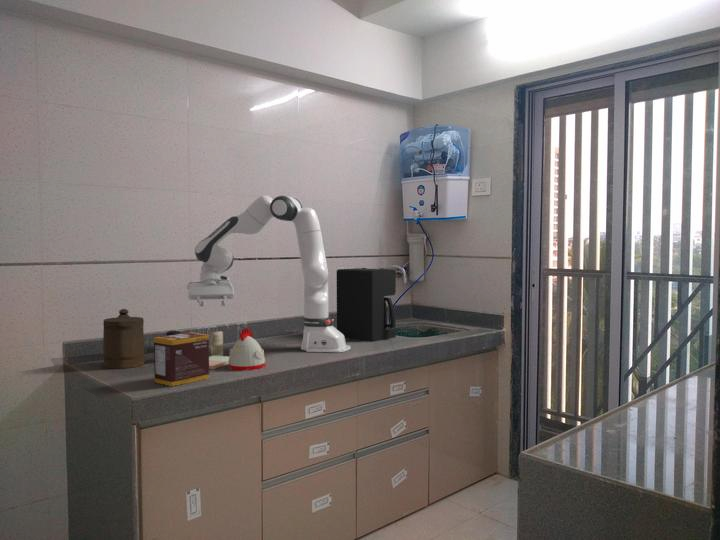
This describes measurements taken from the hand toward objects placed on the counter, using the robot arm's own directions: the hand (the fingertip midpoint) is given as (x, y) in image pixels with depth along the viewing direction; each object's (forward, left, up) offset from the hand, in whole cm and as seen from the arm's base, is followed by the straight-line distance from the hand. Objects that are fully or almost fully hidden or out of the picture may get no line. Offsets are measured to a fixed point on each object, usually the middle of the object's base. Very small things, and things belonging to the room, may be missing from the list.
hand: (212, 305), depth 252 cm
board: (-16, +25, -20) cm, 36 cm away
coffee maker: (-55, -56, -21) cm, 82 cm away
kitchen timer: (-32, +26, -21) cm, 46 cm away
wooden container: (+16, +38, -21) cm, 46 cm away
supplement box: (-22, +53, -21) cm, 61 cm away
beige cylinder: (-8, +10, -20) cm, 24 cm away
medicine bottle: (+3, +24, -21) cm, 31 cm away
